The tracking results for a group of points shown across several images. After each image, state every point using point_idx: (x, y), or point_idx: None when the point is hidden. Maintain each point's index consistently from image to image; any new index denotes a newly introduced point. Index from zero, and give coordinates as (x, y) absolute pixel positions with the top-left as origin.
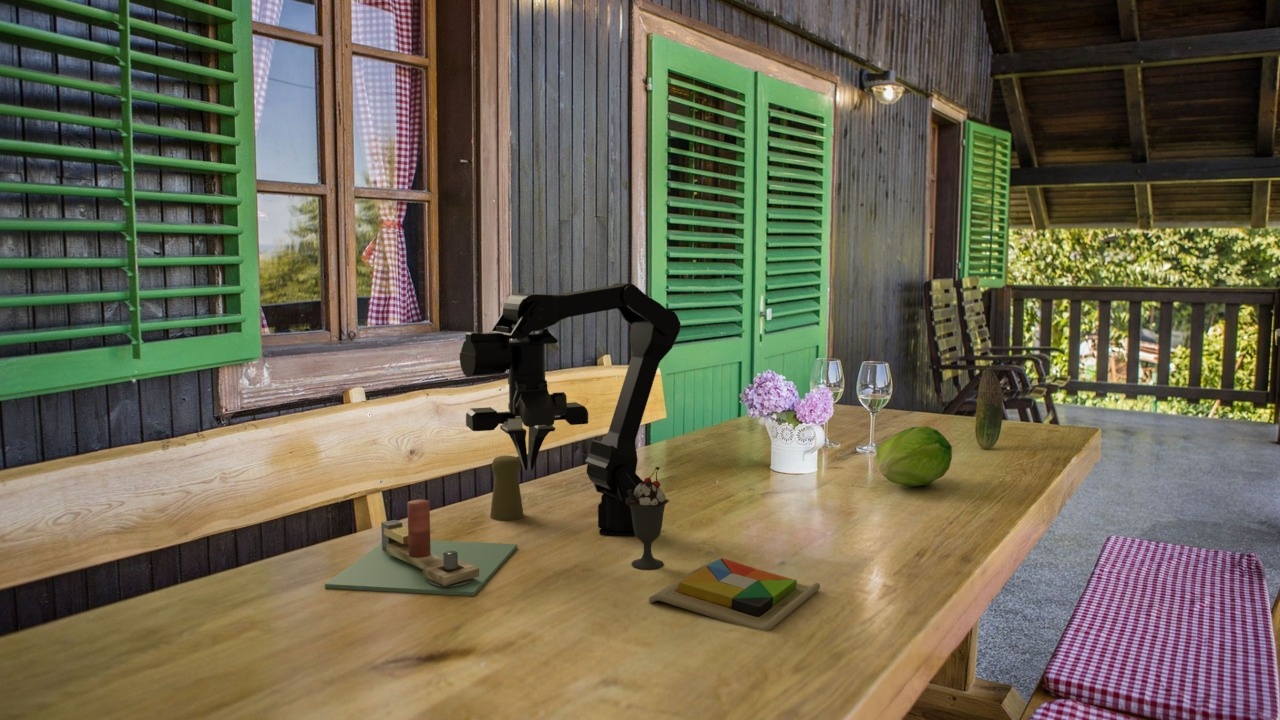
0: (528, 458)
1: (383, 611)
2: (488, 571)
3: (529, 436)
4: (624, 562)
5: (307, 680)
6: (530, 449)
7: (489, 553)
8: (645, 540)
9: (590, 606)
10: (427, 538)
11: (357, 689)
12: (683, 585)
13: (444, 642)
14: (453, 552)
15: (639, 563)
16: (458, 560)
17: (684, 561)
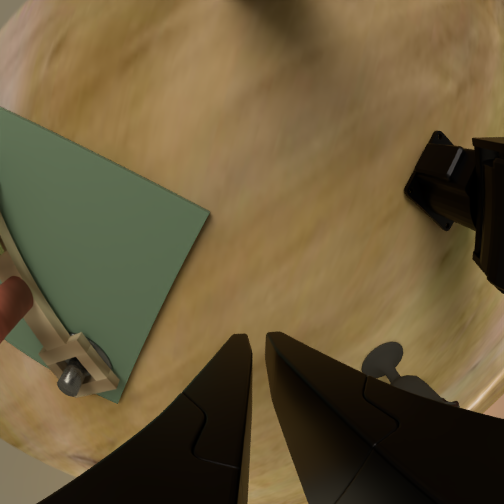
0: (276, 365)
1: (35, 390)
2: (133, 350)
3: (357, 469)
4: (363, 347)
5: (38, 449)
6: (298, 428)
7: (138, 259)
8: None
9: (250, 447)
10: (15, 324)
11: (71, 468)
12: None
13: (107, 455)
14: (70, 388)
15: (371, 368)
16: (80, 349)
17: (423, 354)
